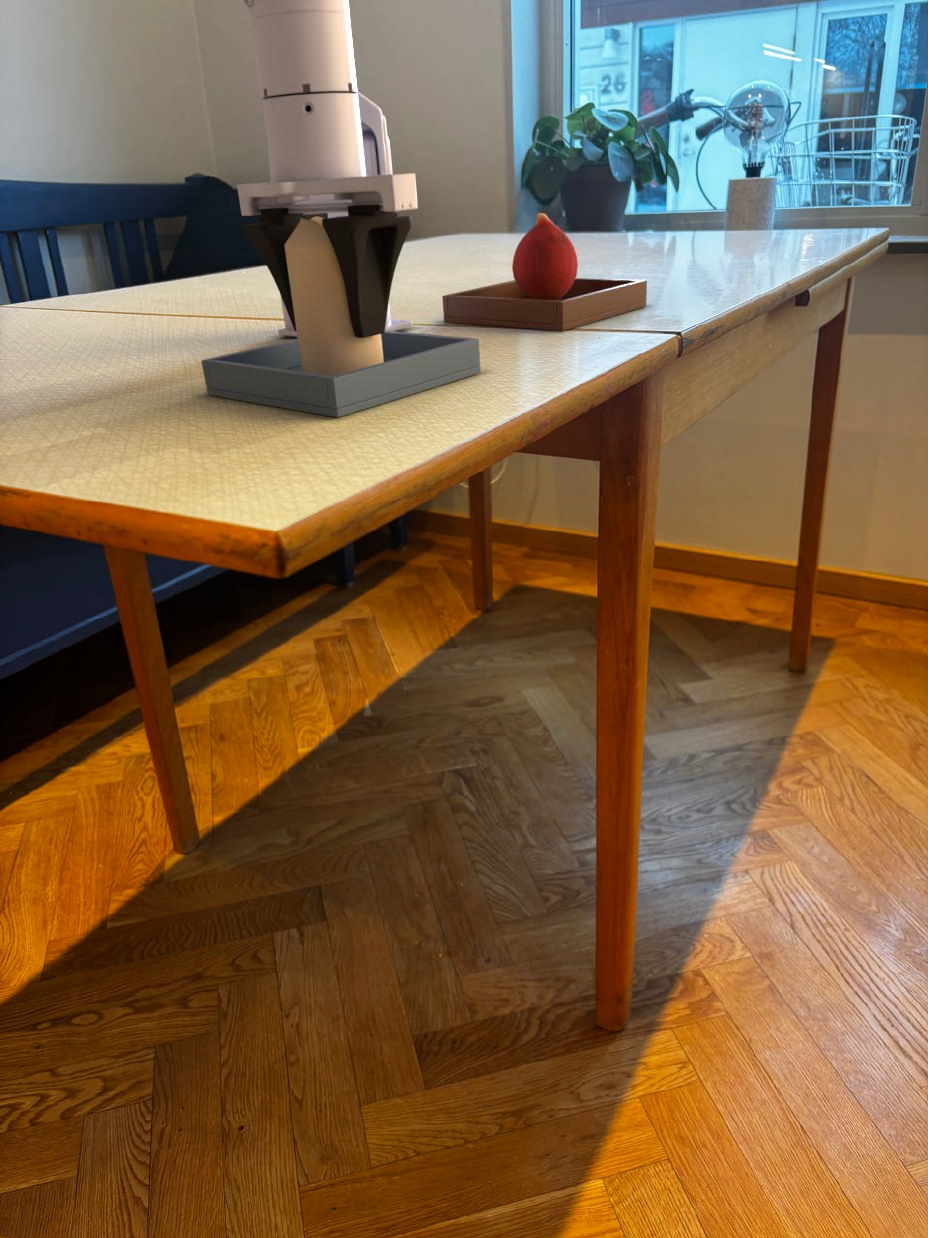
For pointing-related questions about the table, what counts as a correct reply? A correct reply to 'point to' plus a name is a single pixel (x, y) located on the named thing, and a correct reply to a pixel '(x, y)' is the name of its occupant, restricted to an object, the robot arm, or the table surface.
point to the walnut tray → (545, 304)
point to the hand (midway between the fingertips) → (338, 332)
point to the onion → (545, 261)
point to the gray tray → (284, 384)
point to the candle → (324, 306)
